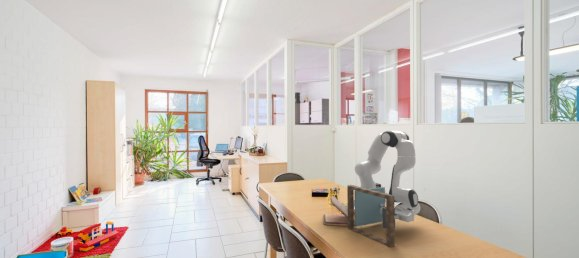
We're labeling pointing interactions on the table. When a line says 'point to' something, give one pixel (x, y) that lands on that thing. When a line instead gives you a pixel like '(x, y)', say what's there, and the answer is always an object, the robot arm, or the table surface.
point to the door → (368, 207)
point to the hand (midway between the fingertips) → (387, 216)
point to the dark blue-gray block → (385, 216)
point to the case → (337, 218)
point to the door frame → (389, 214)
